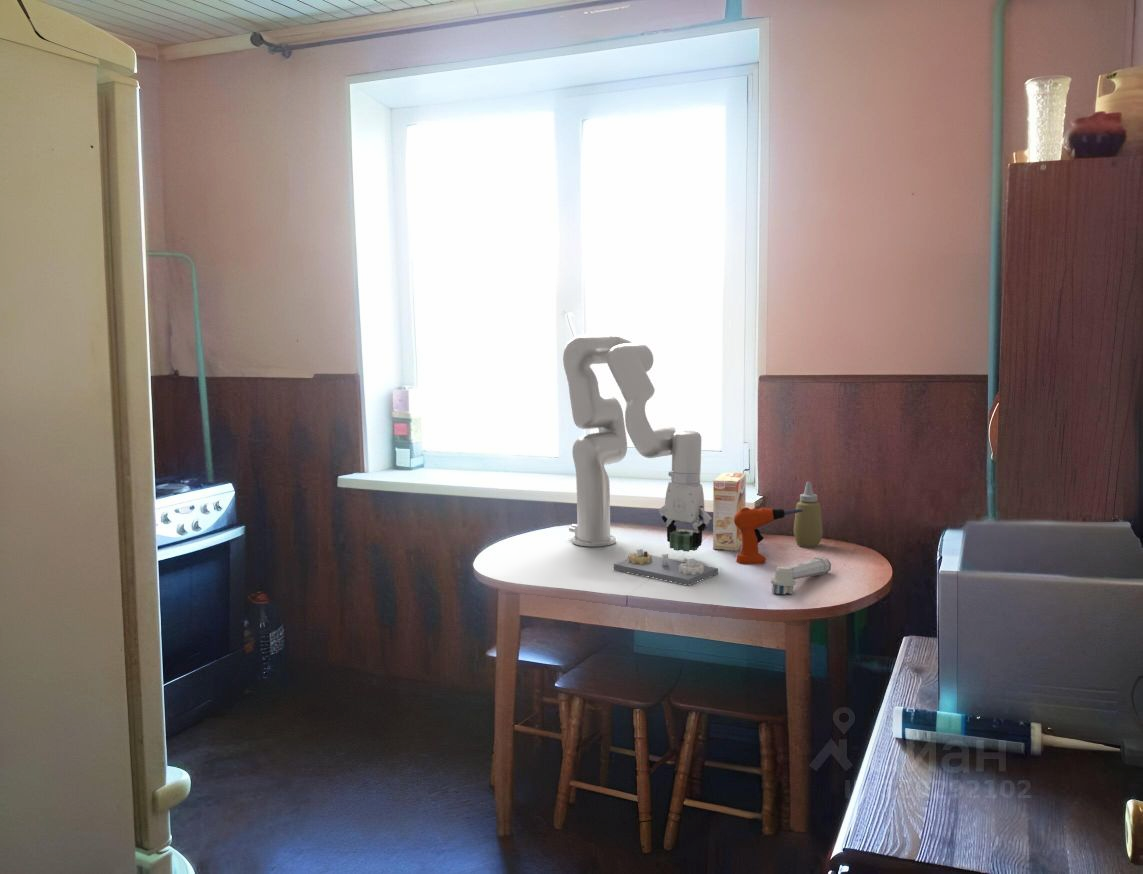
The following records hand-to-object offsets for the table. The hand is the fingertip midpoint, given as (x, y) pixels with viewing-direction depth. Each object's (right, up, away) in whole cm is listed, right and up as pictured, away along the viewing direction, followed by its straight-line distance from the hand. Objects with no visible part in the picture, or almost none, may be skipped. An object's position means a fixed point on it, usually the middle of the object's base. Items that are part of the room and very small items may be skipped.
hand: (684, 543), depth 235 cm
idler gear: (0, -1, 0) cm, 1 cm away
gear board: (-6, -6, -11) cm, 14 cm away
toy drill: (+22, -5, -2) cm, 22 cm away
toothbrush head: (+25, -7, -22) cm, 35 cm away
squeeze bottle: (+37, -2, +14) cm, 39 cm away
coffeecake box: (+15, -2, +17) cm, 23 cm away
